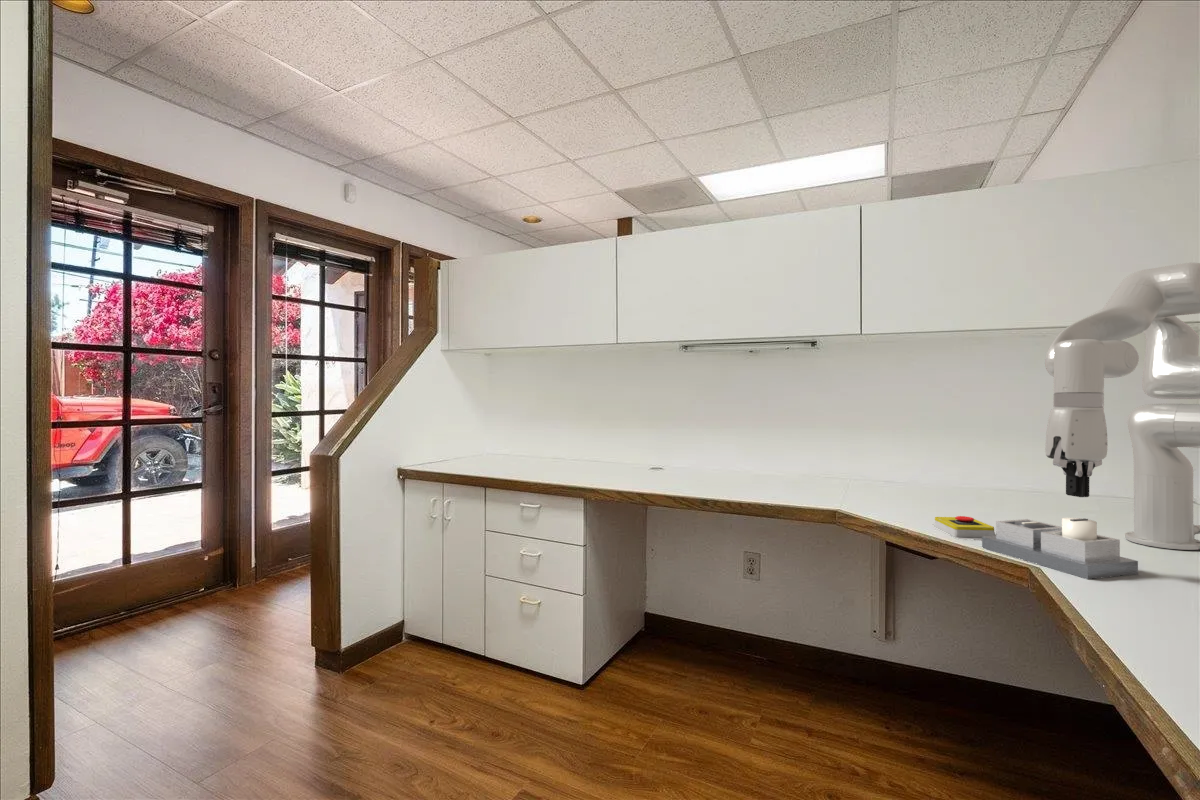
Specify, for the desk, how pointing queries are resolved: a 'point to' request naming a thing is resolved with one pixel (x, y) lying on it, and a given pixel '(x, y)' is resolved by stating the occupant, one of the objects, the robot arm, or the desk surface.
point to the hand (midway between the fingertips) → (1077, 495)
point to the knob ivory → (1079, 528)
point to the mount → (1060, 550)
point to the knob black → (1030, 524)
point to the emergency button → (964, 527)
